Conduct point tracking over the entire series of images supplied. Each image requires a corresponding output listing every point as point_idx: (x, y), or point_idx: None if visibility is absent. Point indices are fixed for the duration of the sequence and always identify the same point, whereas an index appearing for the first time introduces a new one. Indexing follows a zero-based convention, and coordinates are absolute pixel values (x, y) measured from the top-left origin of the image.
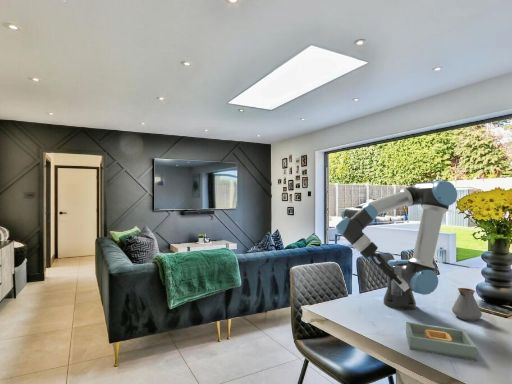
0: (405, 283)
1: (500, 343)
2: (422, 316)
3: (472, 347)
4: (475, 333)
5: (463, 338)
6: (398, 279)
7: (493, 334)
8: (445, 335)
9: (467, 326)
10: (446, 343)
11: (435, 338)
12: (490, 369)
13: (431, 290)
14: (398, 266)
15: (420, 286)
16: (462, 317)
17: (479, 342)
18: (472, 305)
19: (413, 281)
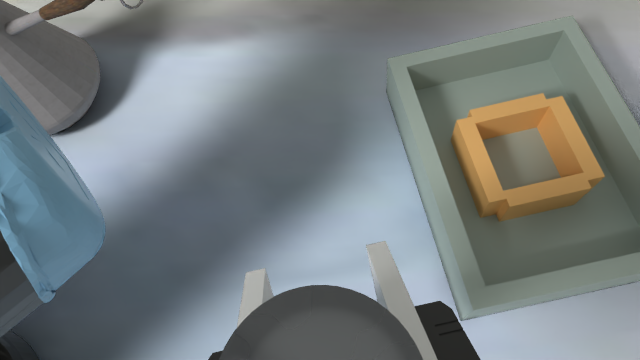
0: (390, 272)
1: (308, 3)
2: (126, 273)
3: (577, 28)
4: (250, 66)
5: (435, 73)
6: (470, 343)
7: (223, 20)
8: (479, 126)
9: (177, 92)
10: (623, 106)
11: (591, 151)
12: (587, 21)
13: (61, 151)
14: (278, 356)
15: (89, 203)
16: (90, 104)
17: (346, 52)
18: (49, 28)
19: (57, 249)
